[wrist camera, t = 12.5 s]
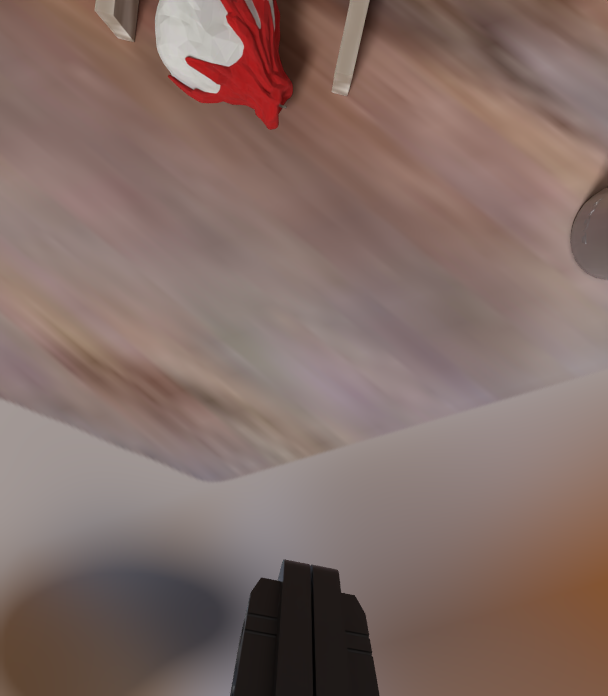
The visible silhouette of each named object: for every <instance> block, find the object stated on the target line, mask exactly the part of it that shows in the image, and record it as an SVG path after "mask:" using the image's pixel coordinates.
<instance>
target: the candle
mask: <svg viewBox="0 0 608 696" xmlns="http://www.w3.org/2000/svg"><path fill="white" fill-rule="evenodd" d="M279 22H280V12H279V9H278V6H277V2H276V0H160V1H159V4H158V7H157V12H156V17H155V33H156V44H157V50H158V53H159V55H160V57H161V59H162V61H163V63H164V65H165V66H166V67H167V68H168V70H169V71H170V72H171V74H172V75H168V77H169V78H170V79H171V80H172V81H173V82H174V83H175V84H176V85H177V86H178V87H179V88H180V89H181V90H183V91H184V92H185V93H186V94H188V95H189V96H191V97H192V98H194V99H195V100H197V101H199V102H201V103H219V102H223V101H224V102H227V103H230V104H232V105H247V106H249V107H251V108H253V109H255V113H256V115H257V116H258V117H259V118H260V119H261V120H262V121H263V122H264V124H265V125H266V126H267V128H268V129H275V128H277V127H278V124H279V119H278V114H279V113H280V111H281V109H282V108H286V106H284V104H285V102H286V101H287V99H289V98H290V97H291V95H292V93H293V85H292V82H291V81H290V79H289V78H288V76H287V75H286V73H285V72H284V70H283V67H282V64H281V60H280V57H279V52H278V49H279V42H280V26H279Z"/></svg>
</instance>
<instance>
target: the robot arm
mask: <svg viewBox="0 0 608 696" xmlns="http://www.w3.org/2000/svg"><path fill="white" fill-rule="evenodd" d="M571 248H572V253H573V255H574V258H575V260H576V262H577V263H578V264H579V266H580V267H581V268H582V269H583V270H584V271H585V272H586V273H588V274H590V275H592V276H594V277H596V278H600V279H605V280H608V188H605V189H603V190H601V191H599V192H598V193H596V194H595V195H593V196H592V197H591V198H590V199H589V200H588V201H587V202H586V203H585V204H584V205H583V207H582V208H581V210H580V211H579V212H578V214H577V217H576V219H575V221H574V223H573V227H572V231H571ZM230 696H379V690H378V684H377V679H376V673H375V667H374V661H373V657H372V650H371V644H370V639H369V633H368V626H367V621H366V615H365V613H364V611H363V609H362V607H361V605H360V604H359V602H358V600H357V598H356V597H355V595H350V594H345V593H341V589H340V579H339V572H338V570H336V569H331V568H326V567H321V566H316V565H311V566H310V565H309V564H305V563H300V562H294V561H289V560H283V562H282V566H281V569H280V574H279V577H278V581H276V580H271V579H266V578H261V579H260V580H259V582H258V583H257V584H256V586H255V587H254V589H253V590H252V592H251V594H250V598H249V602H248V607H247V610H246V615H245V619H244V623H243V627H242V632H241V636H240V641H239V647H238V652H237V659H236V664H235V671H234V676H233V682H232V687H231V694H230Z"/></svg>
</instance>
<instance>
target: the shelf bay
mask: <svg viewBox="0 0 608 696" xmlns="http://www.w3.org/2000/svg"><path fill="white" fill-rule="evenodd" d="M138 5H139V0H96V4H95V11H96V13H97V14H98V15H99V16H100V17H101V19H102V20H103V21H104V22H105V23H106V24H107V26H108V27H109V28H110V29H111V30H112V32H113V33H114V34H115V35H116V36H117V38H120V39H124V40H128V41H132V42H134V40H135V31H136V23H137V14H138ZM368 5H369V0H350V5H349V9H348V14H347V18H346V23H345V28H344V32H343V37H342V42H341V46H340V51H339V56H338V60H337V65H336V69H335V75H334V81H333V87H332V92H333V93H337V94H341V95H345V96H347V95H348V91H349V88H350V84H351V80H352V76H353V72H354V67H355V63H356V58H357V54H358V49H359V45H360V40H361V36H362V32H363V27H364V23H365V18H366V14H367V9H368Z"/></svg>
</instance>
